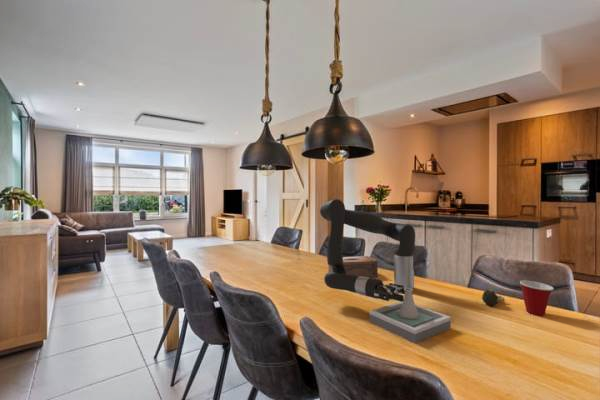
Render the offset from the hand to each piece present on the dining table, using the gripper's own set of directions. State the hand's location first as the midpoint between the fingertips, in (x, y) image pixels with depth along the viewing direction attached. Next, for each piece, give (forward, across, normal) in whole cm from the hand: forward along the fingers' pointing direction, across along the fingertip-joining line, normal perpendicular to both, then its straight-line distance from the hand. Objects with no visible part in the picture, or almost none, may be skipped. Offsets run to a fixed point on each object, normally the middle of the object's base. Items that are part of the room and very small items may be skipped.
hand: (408, 295), depth 110 cm
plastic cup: (+34, +45, +11) cm, 57 cm away
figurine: (+19, +48, +11) cm, 53 cm away
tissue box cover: (-53, +47, +11) cm, 72 cm away
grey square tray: (0, 0, +11) cm, 11 cm away
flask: (0, 0, +8) cm, 8 cm away
